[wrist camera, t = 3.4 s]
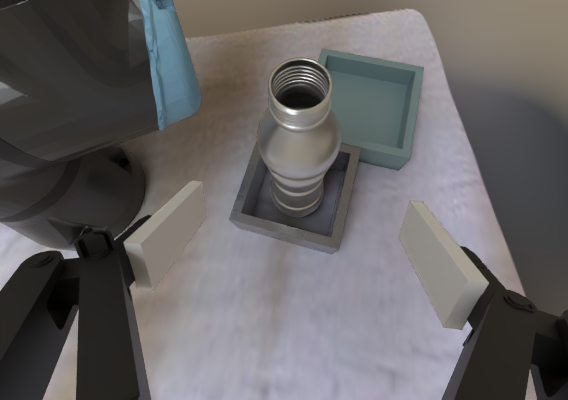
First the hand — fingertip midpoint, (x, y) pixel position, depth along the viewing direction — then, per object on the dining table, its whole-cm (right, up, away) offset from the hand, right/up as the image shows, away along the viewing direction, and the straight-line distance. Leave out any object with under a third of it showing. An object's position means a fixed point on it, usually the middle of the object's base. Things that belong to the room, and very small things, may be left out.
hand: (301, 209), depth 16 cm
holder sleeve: (+1, +1, +17) cm, 17 cm away
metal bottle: (+1, +1, +17) cm, 17 cm away
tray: (+9, +13, +20) cm, 25 cm away
